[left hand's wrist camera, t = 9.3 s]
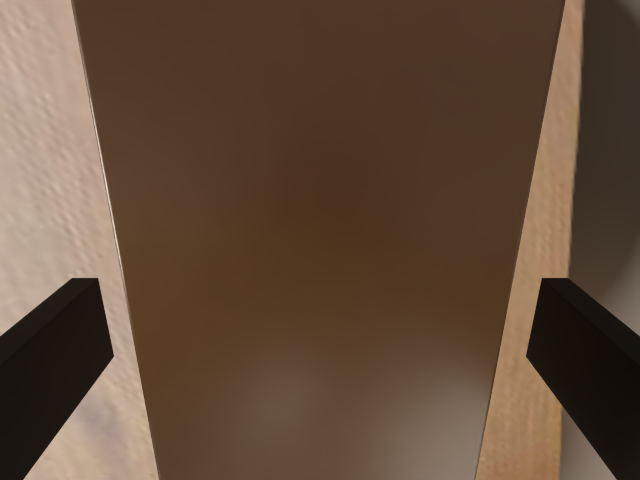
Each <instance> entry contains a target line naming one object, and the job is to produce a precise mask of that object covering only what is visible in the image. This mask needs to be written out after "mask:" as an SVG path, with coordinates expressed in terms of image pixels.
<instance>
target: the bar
mask: <svg viewBox="0 0 640 480" xmlns="http://www.w3.org/2000/svg"><path fill="white" fill-rule="evenodd" d="M71 3H72V8H73V14H74V19H75V25H76V30H77V35H78V41H79V46H80V52H81V57H82V63H83V68H84V73H85V79H86V84H87V90H88V95H89V101H90V106H91V112H92V117H93V122H94V128H95V133H96V139H97V144H98V150H99V155H100V160H101V166H102V171H103V177H104V182H105V188H106V193H107V198H108V204H109V209H110V215H111V220H112V226H113V231H114V236H115V242H116V247H117V253H118V258H119V264H120V269H121V275H122V280H123V285H124V291H125V296H126V302H127V307H128V313H129V318H130V323H131V329H132V334H133V340H134V345H135V351H136V356H137V361H138V367H139V372H140V378H141V383H142V389H143V394H144V399H145V405H146V410H147V416H148V421H149V427H150V432H151V438H152V443H153V448H154V454H155V459H156V465H157V470H158V476H159V480H475V478H476V473H477V468H478V462H479V457H480V452H481V446H482V441H483V436H484V431H485V425H486V420H487V415H488V409H489V404H490V399H491V393H492V388H493V383H494V377H495V372H496V367H497V361H498V356H499V351H500V345H501V340H502V335H503V330H504V324H505V319H506V314H507V308H508V303H509V298H510V292H511V287H512V282H513V276H514V271H515V266H516V260H517V255H518V250H519V244H520V239H521V234H522V229H523V223H524V218H525V213H526V207H527V202H528V197H529V191H530V186H531V181H532V175H533V170H534V165H535V159H536V154H537V149H538V143H539V138H540V133H541V128H542V122H543V117H544V112H545V106H546V101H547V96H548V90H549V85H550V80H551V74H552V69H553V64H554V58H555V53H556V48H557V43H558V37H559V32H560V27H561V21H562V16H563V11H564V5H565V0H71Z"/></svg>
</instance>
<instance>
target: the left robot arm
mask: <svg viewBox="0 0 640 480" xmlns="http://www.w3.org/2000/svg"><path fill="white" fill-rule="evenodd" d="M113 357H114V354H113V349H112V344H111V339H110V334H109V329H108V325H107V320H106V315H105V310H104V305H103V300H102V295H101V290H100V286H99V281H98V278H72V279H70V280H69V281H68V282H67V283H65V284H64V285H63V286H62V287H61V288H59V289H58V290H57V291H56V292H54V293H53V294H52V295H51V296H49V297H48V298H47V299H46V300H45V301H43V302H42V303H41V304H40V305H38V306H37V307H36V308H35V309H33V310H32V311H31V312H30V313H29V314H27V315H26V316H25V317H24V318H22V319H21V320H20V321H19V322H17V323H16V324H15V325H14V326H13V327H11V328H10V329H9V330H8V331H6V332H5V333H4V334H3V335H1V336H0V480H23V479H24V478H25V476H26V475H27V474H28V472H29V471H30V470H31V468H32V467H33V466H34V464H35V463H36V461H37V460H38V459H39V457H40V456H41V455H42V453H43V452H44V451H45V449H46V448H47V447H48V445H49V444H50V442H51V441H52V440H53V438H54V437H55V436H56V434H57V433H58V432H59V430H60V429H61V428H62V426H63V425H64V423H65V422H66V421H67V419H68V418H69V417H70V415H71V414H72V413H73V411H74V410H75V409H76V407H77V406H78V404H79V403H80V402H81V400H82V399H83V398H84V396H85V395H86V394H87V392H88V391H89V390H90V388H91V387H92V386H93V384H94V383H95V381H96V380H97V379H98V377H99V376H100V375H101V373H102V372H103V371H104V369H105V368H106V367H107V365H108V364H109V362H110V361H111V360H112V358H113ZM526 357H527V358H528V360H529V361H530V362H531V364H532V365H533V367H534V368H535V369H536V371H537V372H538V373H539V375H540V376H541V377H542V379H543V380H544V381H545V383H546V384H547V386H548V387H549V388H550V390H551V391H552V392H553V394H554V395H555V396H556V398H557V399H558V400H559V402H560V403H561V404H562V406H563V407H564V409H565V410H566V411H567V413H568V414H569V415H570V417H571V418H572V419H573V421H574V422H575V423H576V425H577V426H578V428H579V429H580V430H581V432H582V433H583V434H584V436H585V437H586V438H587V440H588V441H589V442H590V444H591V445H592V447H593V448H594V449H595V451H596V452H597V453H598V455H599V456H600V457H601V459H602V460H603V461H604V463H605V464H606V466H607V467H608V468H609V470H610V471H611V472H612V474H613V475H614V476H615V478H616V479H617V480H640V336H639V335H637V334H636V333H635V332H634V331H632V330H631V329H630V328H629V327H627V326H626V325H625V324H624V323H623V322H621V321H620V320H619V319H617V318H616V317H615V316H614V315H613V314H611V313H610V312H609V311H608V310H606V309H605V308H604V307H603V306H602V305H600V304H599V303H598V302H597V301H595V300H594V299H593V298H592V297H591V296H589V295H588V294H587V293H586V292H584V291H583V290H582V289H581V288H579V287H578V286H577V285H576V284H575V283H573V282H572V281H571V280H570V279H568V278H542V281H541V286H540V290H539V295H538V300H537V305H536V310H535V315H534V320H533V325H532V329H531V334H530V339H529V344H528V349H527V354H526Z"/></svg>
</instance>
